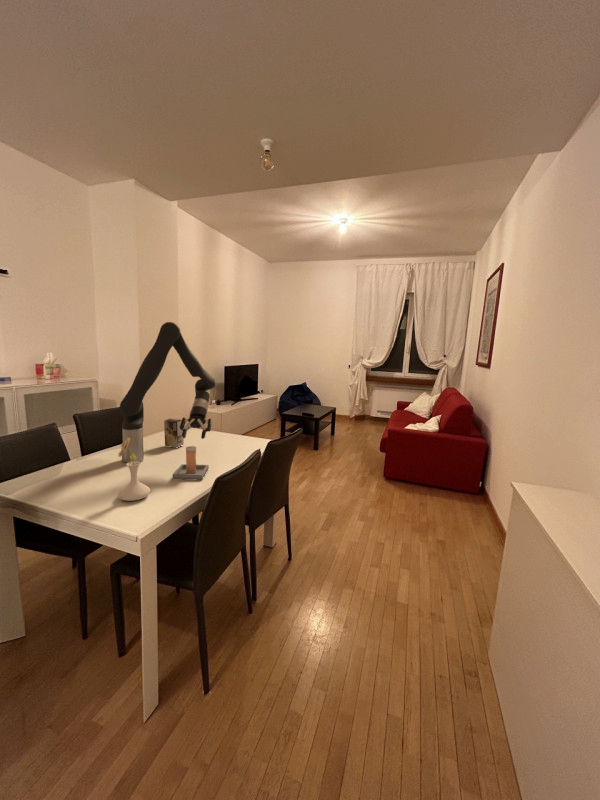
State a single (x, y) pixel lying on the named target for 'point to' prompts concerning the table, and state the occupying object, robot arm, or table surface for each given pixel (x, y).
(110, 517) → the table surface
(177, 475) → the tray
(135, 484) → the flower in vase
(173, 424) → the coffee box
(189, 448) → the shaker
